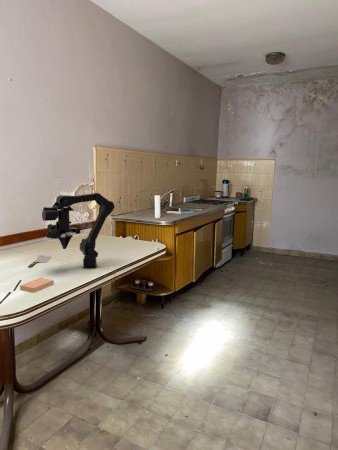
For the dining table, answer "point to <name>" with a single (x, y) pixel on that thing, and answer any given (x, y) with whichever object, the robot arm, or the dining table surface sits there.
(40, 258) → the kitchen cleaver
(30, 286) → the glazed tile
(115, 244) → the dining table surface
